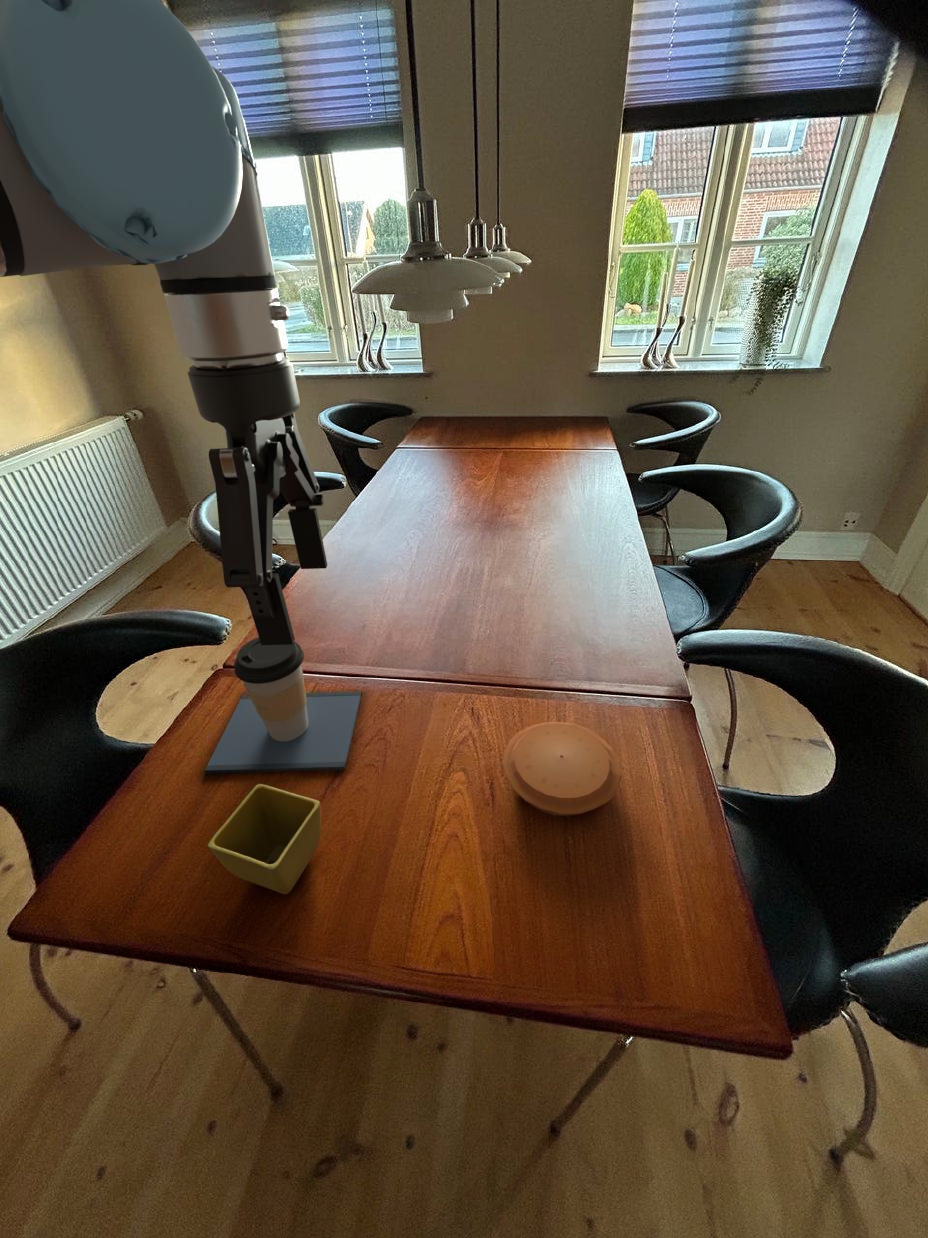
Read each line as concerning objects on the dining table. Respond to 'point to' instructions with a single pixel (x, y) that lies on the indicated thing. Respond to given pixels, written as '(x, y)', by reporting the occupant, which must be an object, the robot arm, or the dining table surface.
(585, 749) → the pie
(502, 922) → the dining table surface
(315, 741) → the cup mat
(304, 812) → the flower pot
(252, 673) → the coffee cup
